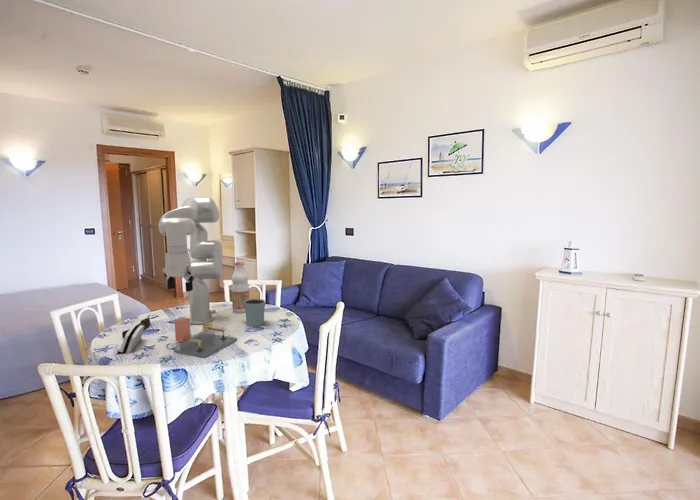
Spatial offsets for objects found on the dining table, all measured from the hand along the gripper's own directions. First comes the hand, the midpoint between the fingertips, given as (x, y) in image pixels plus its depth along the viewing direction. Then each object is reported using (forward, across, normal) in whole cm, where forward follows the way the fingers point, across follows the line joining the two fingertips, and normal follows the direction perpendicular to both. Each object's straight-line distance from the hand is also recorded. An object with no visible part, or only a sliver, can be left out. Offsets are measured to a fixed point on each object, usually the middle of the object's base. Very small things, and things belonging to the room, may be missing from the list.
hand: (180, 289), depth 155 cm
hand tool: (+26, -34, +6) cm, 43 cm away
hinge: (+25, -20, -9) cm, 33 cm away
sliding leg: (+23, +8, -5) cm, 24 cm away
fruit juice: (+27, -10, +52) cm, 59 cm away
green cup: (+26, +12, +34) cm, 45 cm away
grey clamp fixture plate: (+25, +10, +3) cm, 27 cm away
